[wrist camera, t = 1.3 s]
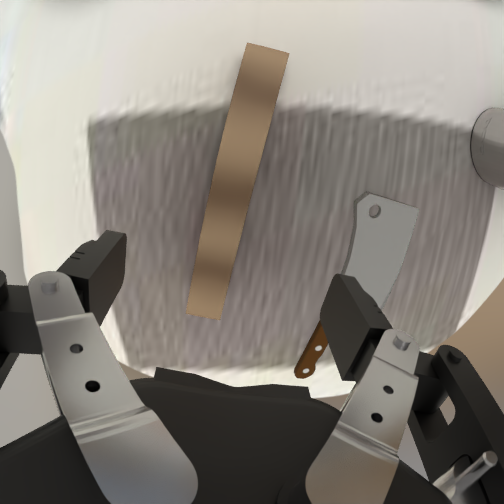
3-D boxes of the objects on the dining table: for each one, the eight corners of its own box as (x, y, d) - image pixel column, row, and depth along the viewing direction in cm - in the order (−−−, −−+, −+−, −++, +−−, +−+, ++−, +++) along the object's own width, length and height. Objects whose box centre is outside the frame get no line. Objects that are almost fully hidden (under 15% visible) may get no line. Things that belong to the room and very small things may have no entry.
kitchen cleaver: (346, 382, 40) (278, 376, 38) (344, 377, 41) (276, 371, 38) (437, 214, 31) (364, 184, 29) (432, 211, 32) (360, 181, 30)
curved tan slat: (244, 56, 24) (247, 42, 19) (278, 65, 25) (289, 53, 19) (192, 279, 33) (185, 313, 27) (221, 285, 33) (219, 320, 28)
